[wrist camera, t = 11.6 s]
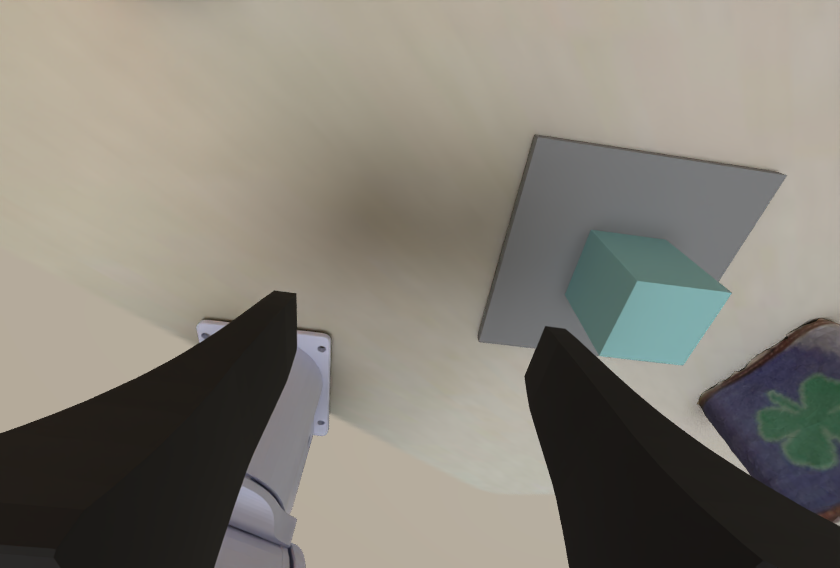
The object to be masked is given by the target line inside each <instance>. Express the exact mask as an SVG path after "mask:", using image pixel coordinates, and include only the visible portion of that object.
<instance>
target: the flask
mask: <svg viewBox="0 0 840 568" xmlns="http://www.w3.org/2000/svg"><path fill="white" fill-rule="evenodd" d="M787 336H788V339H785V340H783V341H781V342H779V343H778V344H776V345H775V346H773V347H771V348H770V349H767V350H765V351H764V352H762V353H761V354H758V355H757V356H756V357H755V358H753V359H751V361H750V362H749V364H748V365H747V366H746V367H745V369H744V370H742V371H740V372H737V371H734V373H733V374H732V376H731V377H730V378H729V379H727V380H726V381H722V382H718V384H717V385H716V386H715V387H714V388H711V389H710V390H708V391H705V392H703V393H702V395H701V396H700V400H699V402H698V403H697V404H699V405H700V406H701V408H702V410H703V412H704V414H705V416H706V417H707V418H708V420H709V421H710V422H711V423H712V425H713V426H714V427H715V429H716V430H717V432H718V433H719V434H720V436H721V437H722V438H723V439H724V440H725V442H726V443H727V444H728V446H729V447H730V449H731V451H732V452H733V453H734V454H735V455H736V457H737V458H738V459H739V460H740V462H741V463H742V464H743V466H744V467H745V468H746V469H747V471H748V472H749V474H750V475H751V476H752V477H753V478H755V479H757V480H758V481H760V482H761V483H763V484H765V485H766V486H768V487H770V488H772V489H773V490H775V491H777V492H778V493H780V494H782V495H784V496H785V497H787V498H789V499H791V500H792V501H794V502H796V503H797V504H799V505H801V506H803V507H805V508H806V509H808V510H810V511H812V512H814V513H816V514H818V515H819V516H821V517H823V518H825V519H827V520H829V521H831V522H833V523H835V524H837V525H839V526H840V325H839V324H837V323H834V322H832V321H828V320H825V319H822V318H820V319H818V320H817V321H816V322H813V323H811V324H807V325H803V326H801V327H799V328H798V329H795V330H794V331H792V332H790V333H788V334H787Z"/></svg>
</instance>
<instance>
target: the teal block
mask: <svg viewBox="0 0 840 568" xmlns="http://www.w3.org/2000/svg"><path fill="white" fill-rule="evenodd" d="M731 294H732V293H731V292H730V291H729V290H728V289H726V288H725V287H724V286H723V285H721V284H720V283H719V282H718V281H717V280H715V279H714V278H713V277H712V276H710V275H709V274H708V273H707V272H705V271H704V270H703V269H702V268H700V267H699V266H698V265H697V264H695V263H694V262H693V261H692V260H690V259H689V258H688V257H687V256H686V255H684V254H683V253H682V252H681V251H679V250H678V249H677V248H676V247H674V246H673V245H672V244H671V243H669V242H668V241H667V240H664V239H657V238H649V237H642V236H635V235H627V234H620V233H612V232H605V231H597V230H591V231H590V233H589V236H588V238H587V241H586V243H585V246H584V248H583V251H582V253H581V256H580V258H579V261H578V263H577V266H576V268H575V271H574V273H573V276H572V278H571V281H570V283H569V286H568V288H567V291H566V293H565V296H566V298H567V300H568V301H569V303H570V305H571V307H572V309H573V310H574V312H575V314H576V316H577V317H578V319H579V321H580V323H581V325H582V326H583V328H584V330H585V332H586V333H587V335H588V337H589V339H590V341H591V342H592V344H593V346H594V348H595V349H596V351H597V353H598V355H599V356H604V357H613V358H622V359H631V360H640V361H648V362H657V363H666V364H675V365H684V363H685V362H686V360H687V359H688V357H689V356H690V354H691V353H692V351H693V350H694V349H695V347H696V346H697V344H698V343H699V341H700V340H701V338H702V337H703V335H704V334H705V332H706V331H707V329H708V328H709V326H710V325H711V323H712V322H713V320H714V319H715V317H716V316H717V314H718V313H719V311H720V310H721V308H722V307H723V305H724V304H725V303H726V301H727V300H728V298H729V297H730V295H731Z"/></svg>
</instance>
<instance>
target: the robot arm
mask: <svg viewBox="0 0 840 568" xmlns="http://www.w3.org/2000/svg"><path fill="white" fill-rule="evenodd" d="M196 329H197V334H198V339H199V343H198V344H197V345H195V346H194V347H192V348H191V349H189V350H187V351H186V352H184V353H182V354H181V355H179V356H177V357H175V358H174V359H172V360H170V361H168V362H166V363H165V364H163V365H161V366H159V367H157V368H155V369H153V370H151V371H149V372H148V373H146V374H144V375H142V376H140V377H138V378H136V379H133V380H131V381H129V382H127V383H124V384H122V385H120V386H118V387H116V388H114V389H111V390H109V391H107V392H105V393H103V394H100V395H98V396H96V397H94V398H92V399H89V400H87V401H85V402H82V403H80V404H77V405H75V406H72V407H70V408H67V409H65V410H62V411H60V412H57V413H55V414H52V415H50V416H47V417H44V418H42V419H39V420H37V421H34V422H31V423H28V424H26V425H23V426H20V427H17V428H14V429H12V430H9V431H6V432H3V433H0V568H306V565H305V559H304V555H303V552H302V550H301V549H300V548H299V547H298V546H297V545H295V544H293V543H291V540H292V536H293V533H294V529H295V525H296V522H297V519H296V518H294V517H293V516H291V515H290V513H291V510H292V507H293V504H294V501H295V497H296V494H297V490H298V486H299V483H300V479H301V475H302V472H303V469H304V465H305V461H306V458H307V454H308V451H309V448H310V444H311V440H312V437H313V435H318V436H324V435H326V434H327V433H328V430H329V402H330V364H331V338H330V336H329V335H327V334H325V333H318V332H309V331H300V330H297V303H296V293H289V292H281V291H273V292H272V293H270V294H269V295H267V296H266V297H265V298H263V299H262V300H260V301H259V302H258V303H256V304H255V305H254V306H252V307H251V308H250V309H248V310H247V311H245V312H244V313H243V314H241V315H240V316H239V317H237V318H236V319H234V320H233V321H231V322H222V321H213V320H201V321H200V322H199V323H198V325H197V326H196ZM205 333H207V334H209V335H207V334H205ZM320 346H324V347H325V348H321V347H320ZM525 383H526V390H527V397H528V402H529V408H530V412H531V415H532V418H533V422H534V425H535V429H536V432H537V435H538V438H539V442H540V445H541V448H542V451H543V455H544V458H545V461H546V464H547V468H548V471H549V474H550V477H551V481H552V484H553V488H554V492H555V496H556V500H557V505H558V510H559V515H560V520H561V525H562V530H563V535H564V540H565V546H566V552H567V558H568V564H569V568H840V526H839V525H837V524H835V523H833V522H831V521H829V520H827V519H825V518H823V517H821V516H819V515H818V514H816V513H814V512H812V511H810V510H808V509H806V508H805V507H803V506H801V505H799V504H797V503H796V502H794V501H792V500H791V499H789V498H787V497H785V496H784V495H782V494H780V493H778V492H777V491H775V490H773V489H772V488H770V487H768V486H766V485H765V484H763V483H761V482H760V481H758V480H757V479H755V478H753V477H752V476H750V475H748V474H747V473H745V472H744V471H742V470H740V469H739V468H737V467H736V466H734V465H733V464H731V463H730V462H728V461H727V460H725V459H724V458H722V457H721V456H719V455H717V454H716V453H714V452H713V451H711V450H710V449H708V448H707V447H706V446H704V445H703V444H701V443H700V442H698V441H697V440H696V439H694V438H693V437H691V436H690V435H689V434H687V433H686V432H685V431H683V430H682V429H681V428H679V427H678V426H677V425H675V424H674V423H673V422H671V421H670V420H669V419H667V418H666V417H665V416H663V415H662V414H661V413H660V412H658V411H657V410H656V409H655V408H654V407H652V406H651V405H650V404H649V403H648V402H646V401H645V400H644V399H643V398H642V397H640V396H639V395H638V394H637V393H636V392H634V391H633V390H632V389H631V388H630V387H629V386H628V385H627V384H625V383H624V382H623V381H622V380H621V379H620V378H619V377H618V376H617V375H615V374H614V373H613V372H612V371H611V370H610V369H609V368H608V367H607V366H606V365H605V364H604V363H603V362H601V361H600V360H599V359H598V358H597V357H596V356H595V355H594V354H593V353H592V352H591V351H590V350H589V349H588V348H587V347H586V346H584V345H583V344H582V343H581V342H580V341H579V340H578V339H577V338H576V337H575V336H573V335H572V334H571V333H570V332H569V331H568V330H566V329H564V328H557V327H549V326H545V328H544V330H543V332H542V335H541V337H540V340H539V342H538V345H537V347H536V350H535V352H534V354H533V357H532V359H531V362H530V364H529V367H528V369H527V371H526V374H525Z"/></svg>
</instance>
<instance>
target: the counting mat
mask: <svg viewBox="0 0 840 568" xmlns="http://www.w3.org/2000/svg"><path fill="white" fill-rule="evenodd" d="M786 176H787V175H784V174H782V173H779V172H775V171H768V170H762V169H755V168H749V167H742V166H736V165H729V164H723V163H716V162H710V161H703V160H697V159H690V158H684V157H678V156H671V155H665V154H658V153H652V152H645V151H639V150H632V149H626V148H619V147H613V146H606V145H600V144H593V143H587V142H580V141H574V140H567V139H561V138H554V137H548V136H541V135H534V139H533V143H532V146H531V150H530V153H529V157H528V160H527V164H526V167H525V171H524V174H523V178H522V181H521V185H520V188H519V192H518V195H517V199H516V203H515V206H514V210H513V213H512V217H511V220H510V224H509V227H508V231H507V234H506V238H505V241H504V245H503V248H502V252H501V256H500V259H499V263H498V266H497V270H496V273H495V277H494V280H493V284H492V287H491V291H490V294H489V298H488V301H487V305H486V308H485V312H484V316H483V319H482V323H481V326H480V330H479V333H478V340H479V342H483V343H492V344H501V345H509V346H518V347H526V348H535V349H536V347H537V345H538V342H539V340H540V337H541V335H542V332H543V330H544V328H545V326H549V327H557V328H564V329H566V330H568V331H569V332H570V333H571V334H572V335H573V336H575V337H576V338H577V339H578V340H579V341H580V342H581V343H582V344H583V345H584V346H586V347H587V348H588V349H589V350H590V351H591V352H592V353H593V354H594V355H595V356H599V355H598V353H597V351H596V349H595V348H594V346H593V344H592V342H591V341H590V339H589V337H588V335H587V333H586V332H585V330H584V328H583V326H582V325H581V323H580V321H579V319H578V317H577V316H576V314H575V312H574V310H573V309H572V307H571V305H570V303H569V301H568V300H567V298H566V296H565V293H566V291H567V288H568V286H569V283H570V281H571V278H572V276H573V273H574V271H575V268H576V266H577V263H578V261H579V258H580V256H581V253H582V251H583V248H584V246H585V243H586V241H587V238H588V236H589V233H590V231H591V230H597V231H605V232H612V233H620V234H627V235H635V236H642V237H649V238H657V239H664V240H667V241H668V242H669V243H671V244H672V245H673V246H674V247H676V248H677V249H678V250H679V251H681V252H682V253H683V254H684V255H686V256H687V257H688V258H689V259H690V260H692V261H693V262H694V263H695V264H697V265H698V266H699V267H700V268H702V269H703V270H704V271H705V272H707V273H708V274H709V275H710V276H712V277H713V278H714V279H715V280H717V281H718V282H719V280H720V279H721V277H722V275H723V274H724V272H725V271H726V269H727V268H728V266H729V265H730V263H731V262H732V260H733V258H734V257H735V255H736V254H737V252H738V251H739V249H740V248H741V246H742V244H743V243H744V241H745V240H746V238H747V237H748V235H749V234H750V232H751V231H752V229H753V227H754V226H755V224H756V223H757V221H758V220H759V218H760V217H761V215H762V213H763V212H764V210H765V209H766V207H767V206H768V204H769V203H770V201H771V199H772V198H773V196H774V195H775V193H776V192H777V190H778V189H779V187H780V186H781V184H782V182H783V181H784V179H785V178H786ZM621 359H622V358H621ZM630 360H631V359H630ZM639 361H640V360H639ZM647 362H648V361H647ZM656 363H657V362H656ZM664 364H666V363H664Z"/></svg>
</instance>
